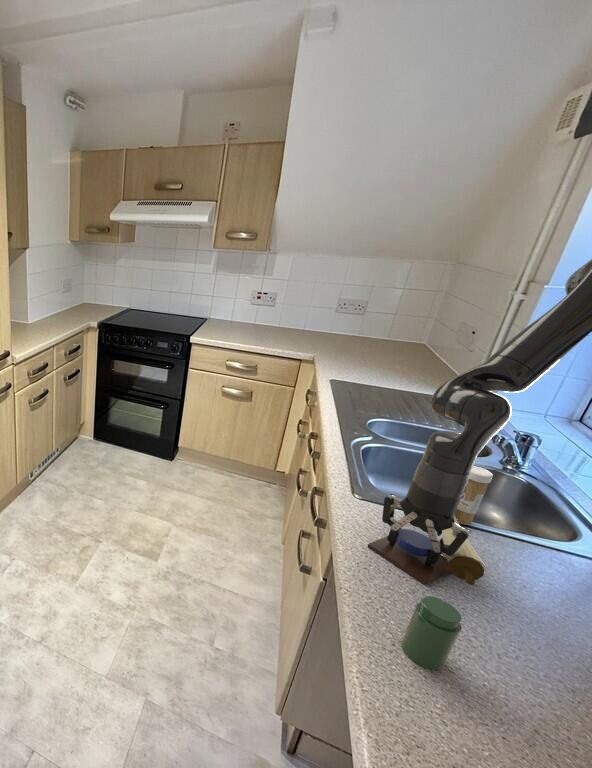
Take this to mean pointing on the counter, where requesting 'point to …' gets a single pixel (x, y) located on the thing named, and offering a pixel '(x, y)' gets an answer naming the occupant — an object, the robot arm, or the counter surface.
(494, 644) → the counter surface
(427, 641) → the jar
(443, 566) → the coaster
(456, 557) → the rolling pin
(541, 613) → the counter surface
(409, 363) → the counter surface
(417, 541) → the lid
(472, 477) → the sprinkles bottle
